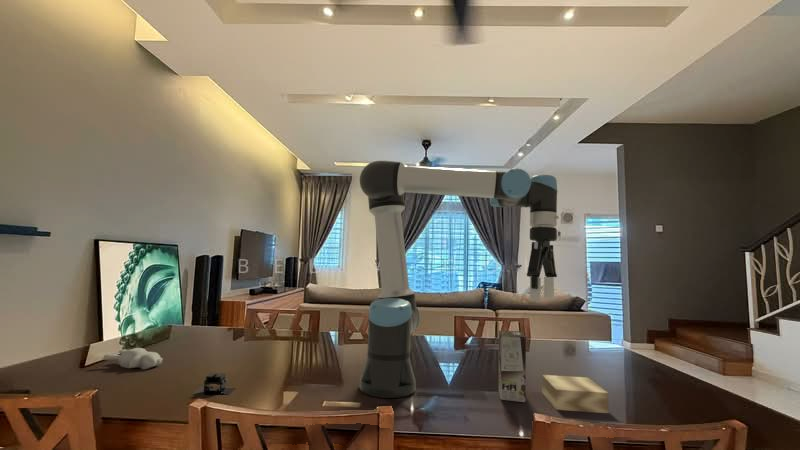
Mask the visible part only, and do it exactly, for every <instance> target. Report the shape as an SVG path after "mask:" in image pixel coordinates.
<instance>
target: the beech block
mask: <svg viewBox="0 0 800 450" xmlns="http://www.w3.org/2000/svg"><path fill="white" fill-rule="evenodd" d="M541 387H542V388H541V390H542V391H541V393H542V394H543V396H545V397H546V398H547V400H548V401H549V402H550V404H551V406H553V407H554V409H555V410H558V411H559V410H560V411H572V412H582V413H584V412H585V413H598V414H599V413H601V414H610V412H609V411H610V410H609V409H610V408H609V392H608V391H606V390H605V389H604V388H602V387H601V386H600V385H598V384H597V383H596V382H595V381H593V380H592V379H591V378H589V377H587V376H586V377H584V376H568V375H567V376H566V375H555V374H554V375H552V374H551V375H550V374H542V375H541Z"/></svg>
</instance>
